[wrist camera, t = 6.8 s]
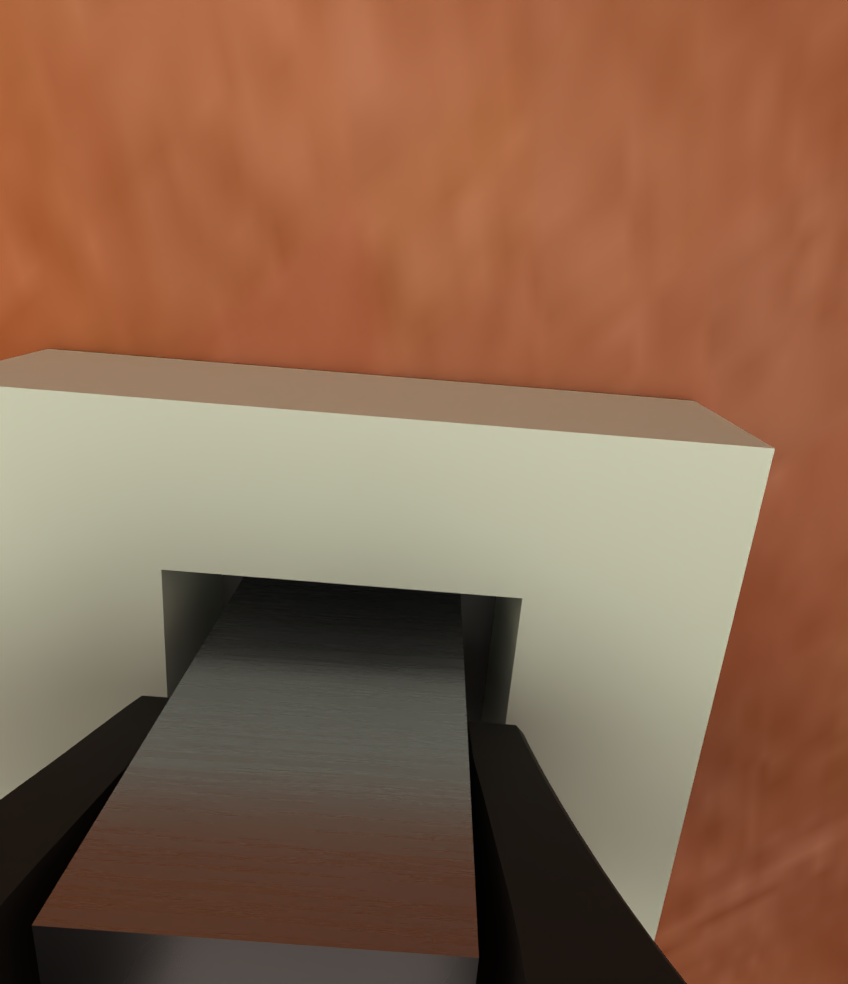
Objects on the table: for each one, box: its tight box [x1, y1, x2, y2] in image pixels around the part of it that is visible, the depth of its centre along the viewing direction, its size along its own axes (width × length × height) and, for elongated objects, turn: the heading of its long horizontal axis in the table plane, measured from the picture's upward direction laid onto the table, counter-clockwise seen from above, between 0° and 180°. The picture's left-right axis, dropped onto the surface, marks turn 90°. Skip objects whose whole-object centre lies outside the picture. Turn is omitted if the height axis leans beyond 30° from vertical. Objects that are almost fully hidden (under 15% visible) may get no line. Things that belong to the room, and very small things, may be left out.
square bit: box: [32, 576, 479, 984], centre depth 9 cm, size 3×3×7 cm
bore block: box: [0, 349, 775, 941], centre depth 11 cm, size 10×9×3 cm
